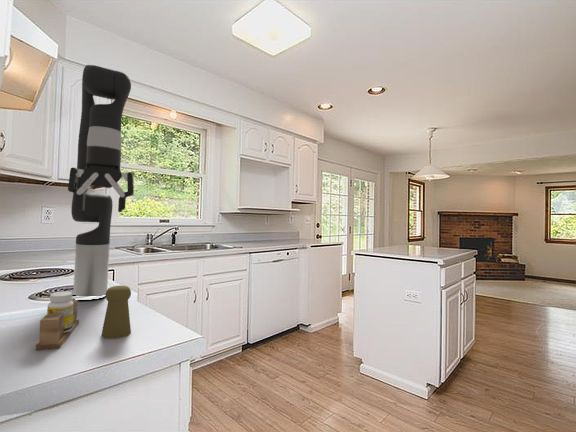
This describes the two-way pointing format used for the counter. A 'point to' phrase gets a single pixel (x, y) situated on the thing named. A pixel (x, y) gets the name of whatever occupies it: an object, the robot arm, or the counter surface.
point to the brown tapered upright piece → (117, 313)
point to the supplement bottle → (62, 307)
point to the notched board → (55, 329)
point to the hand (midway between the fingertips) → (101, 211)
